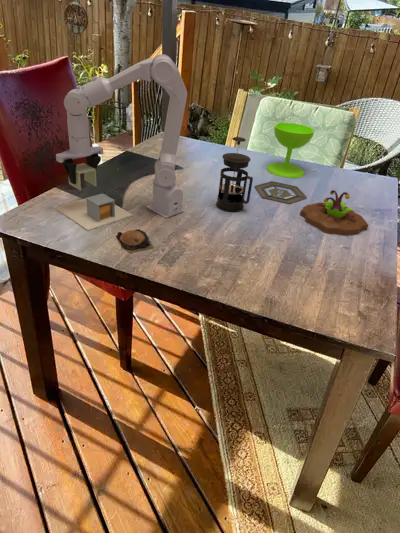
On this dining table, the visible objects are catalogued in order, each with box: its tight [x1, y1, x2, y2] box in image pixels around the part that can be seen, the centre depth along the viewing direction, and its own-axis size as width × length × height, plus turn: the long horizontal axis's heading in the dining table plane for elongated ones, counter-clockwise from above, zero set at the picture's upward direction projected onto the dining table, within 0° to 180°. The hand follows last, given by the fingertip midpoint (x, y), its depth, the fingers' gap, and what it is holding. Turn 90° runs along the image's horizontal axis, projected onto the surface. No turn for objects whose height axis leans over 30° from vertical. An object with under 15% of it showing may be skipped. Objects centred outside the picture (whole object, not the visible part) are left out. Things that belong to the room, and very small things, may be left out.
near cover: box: [85, 193, 116, 222], centre depth 119 cm, size 6×6×6 cm
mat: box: [54, 198, 133, 232], centre depth 123 cm, size 18×16×1 cm
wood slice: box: [115, 228, 155, 254], centre depth 110 cm, size 11×9×4 cm
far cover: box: [67, 162, 98, 191], centre depth 120 cm, size 6×6×6 cm
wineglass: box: [266, 122, 315, 179], centre depth 165 cm, size 16×16×18 cm
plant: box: [299, 189, 369, 236], centre depth 130 cm, size 20×20×11 cm
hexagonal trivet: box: [253, 180, 308, 205], centre depth 149 cm, size 17×20×1 cm
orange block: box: [99, 203, 111, 220], centre depth 120 cm, size 4×4×4 cm
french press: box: [215, 136, 254, 213], centre depth 129 cm, size 12×9×23 cm
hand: (82, 180), depth 121 cm, fingers closed on far cover, 6 cm apart
